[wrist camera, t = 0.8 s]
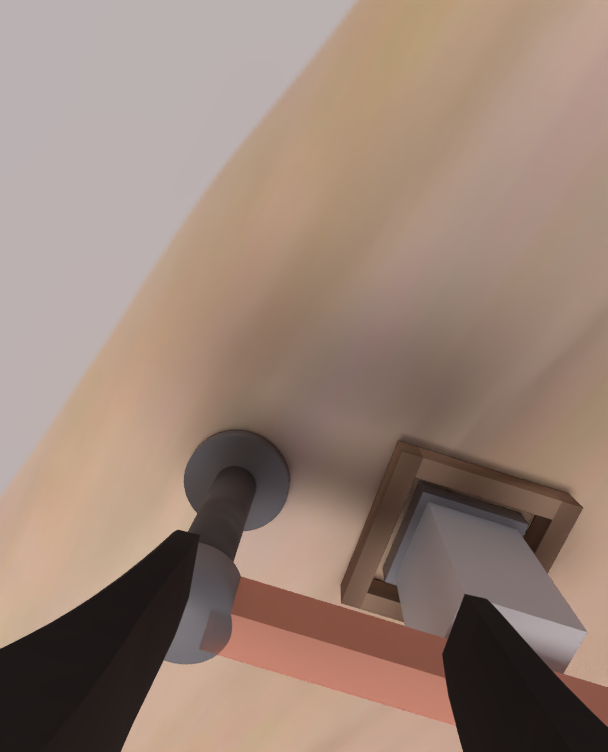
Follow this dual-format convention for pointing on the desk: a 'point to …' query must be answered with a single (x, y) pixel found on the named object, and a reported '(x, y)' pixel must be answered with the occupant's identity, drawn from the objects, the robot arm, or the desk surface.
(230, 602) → the salmon pink long bar
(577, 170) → the desk surface
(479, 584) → the grey plug
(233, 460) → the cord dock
